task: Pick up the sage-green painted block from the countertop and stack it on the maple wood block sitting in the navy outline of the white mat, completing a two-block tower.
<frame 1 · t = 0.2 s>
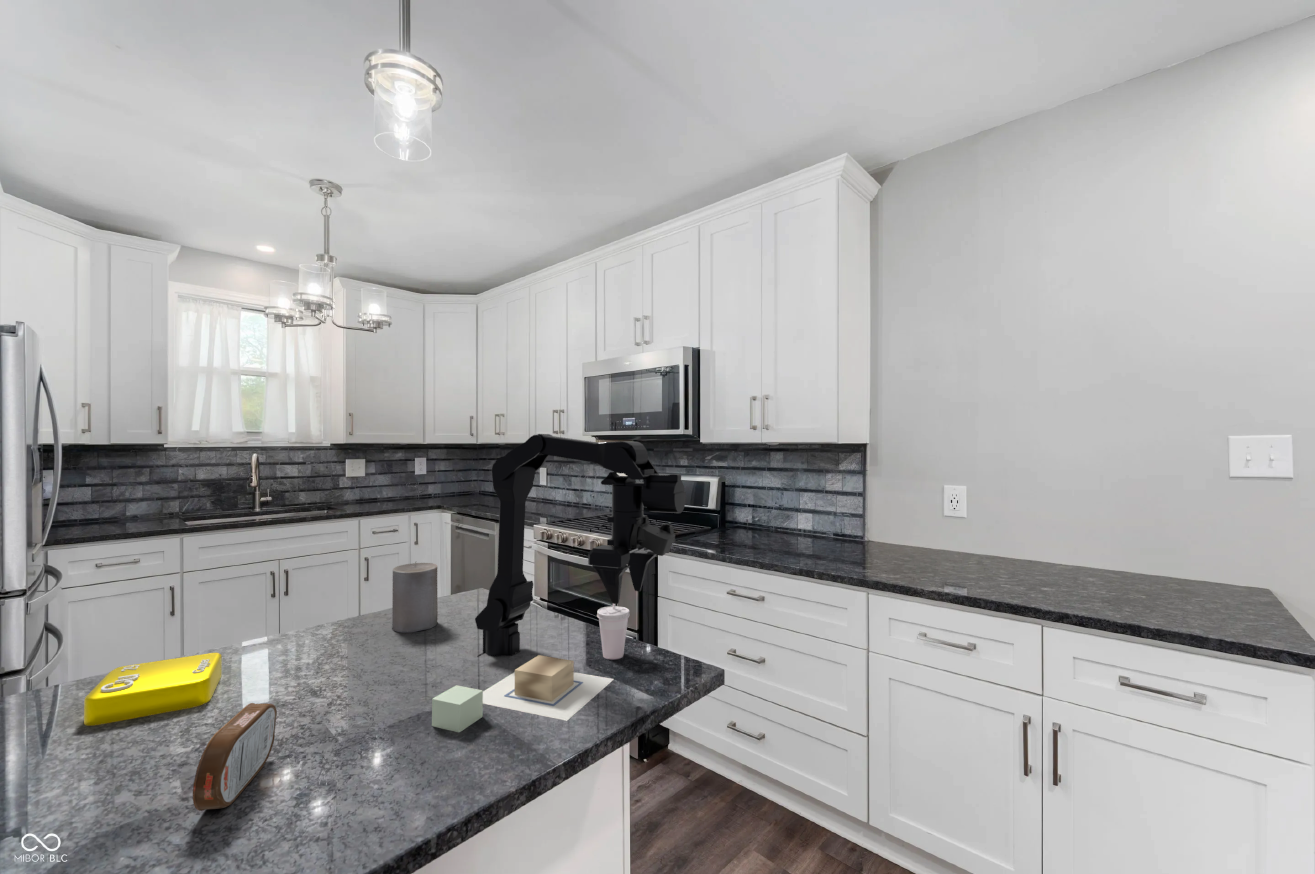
hand: (627, 596, 100), 15 cm above the countertop, fingers open, 9 cm apart
maple block: (544, 689, 93), point 1 cm above the countertop, touching white mat
element tile: (159, 700, 92), on the countertop
white mat: (544, 695, 93), on the countertop
pillar candle: (414, 626, 129), on the countertop
smoothie: (613, 661, 108), on the countertop
sage block: (457, 728, 82), on the countertop
tin: (239, 787, 68), on the countertop
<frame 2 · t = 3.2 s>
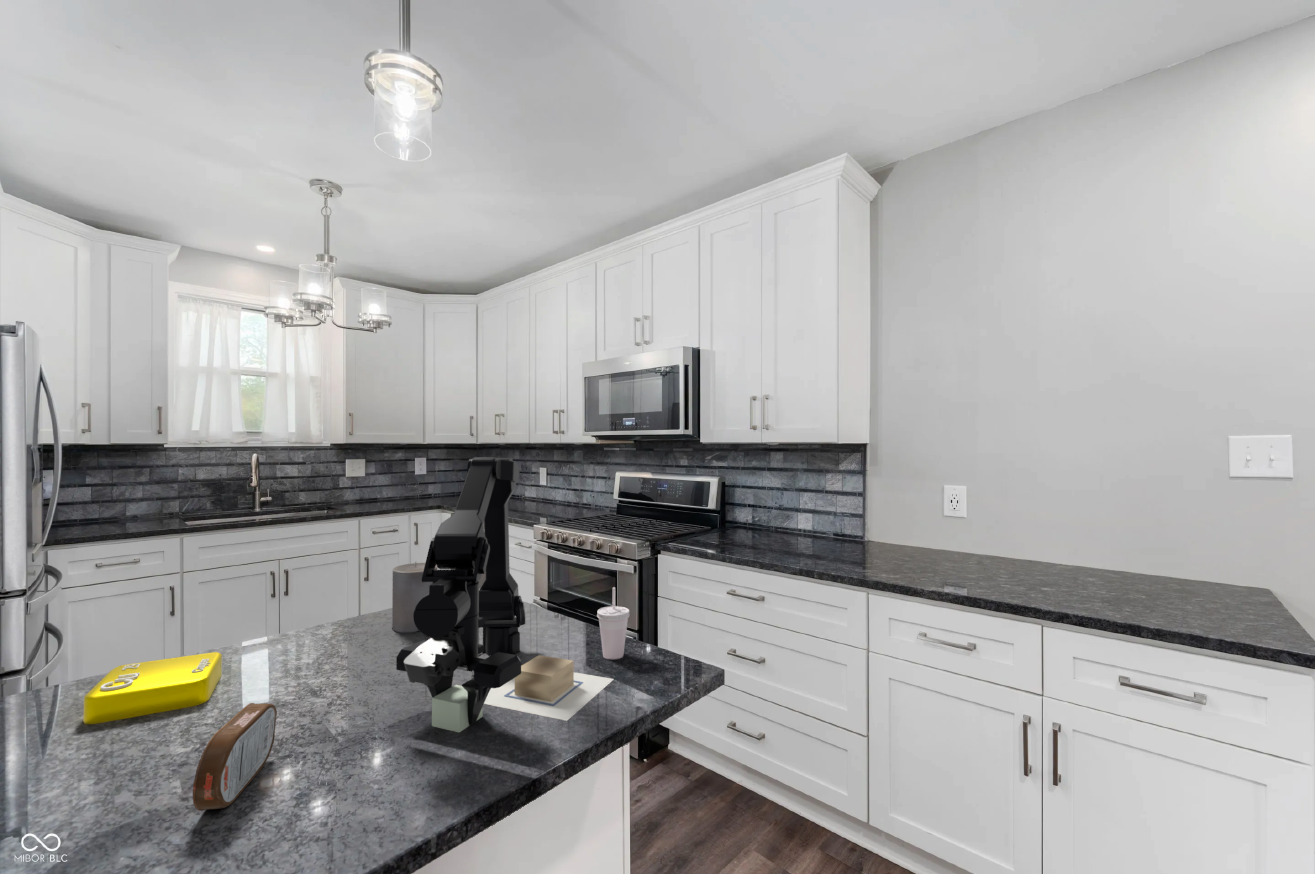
hand: (457, 720, 82), 1 cm above the countertop, fingers closed on sage block, 5 cm apart
sage block: (457, 727, 82), on the countertop, touching gripper
everything else where it was.
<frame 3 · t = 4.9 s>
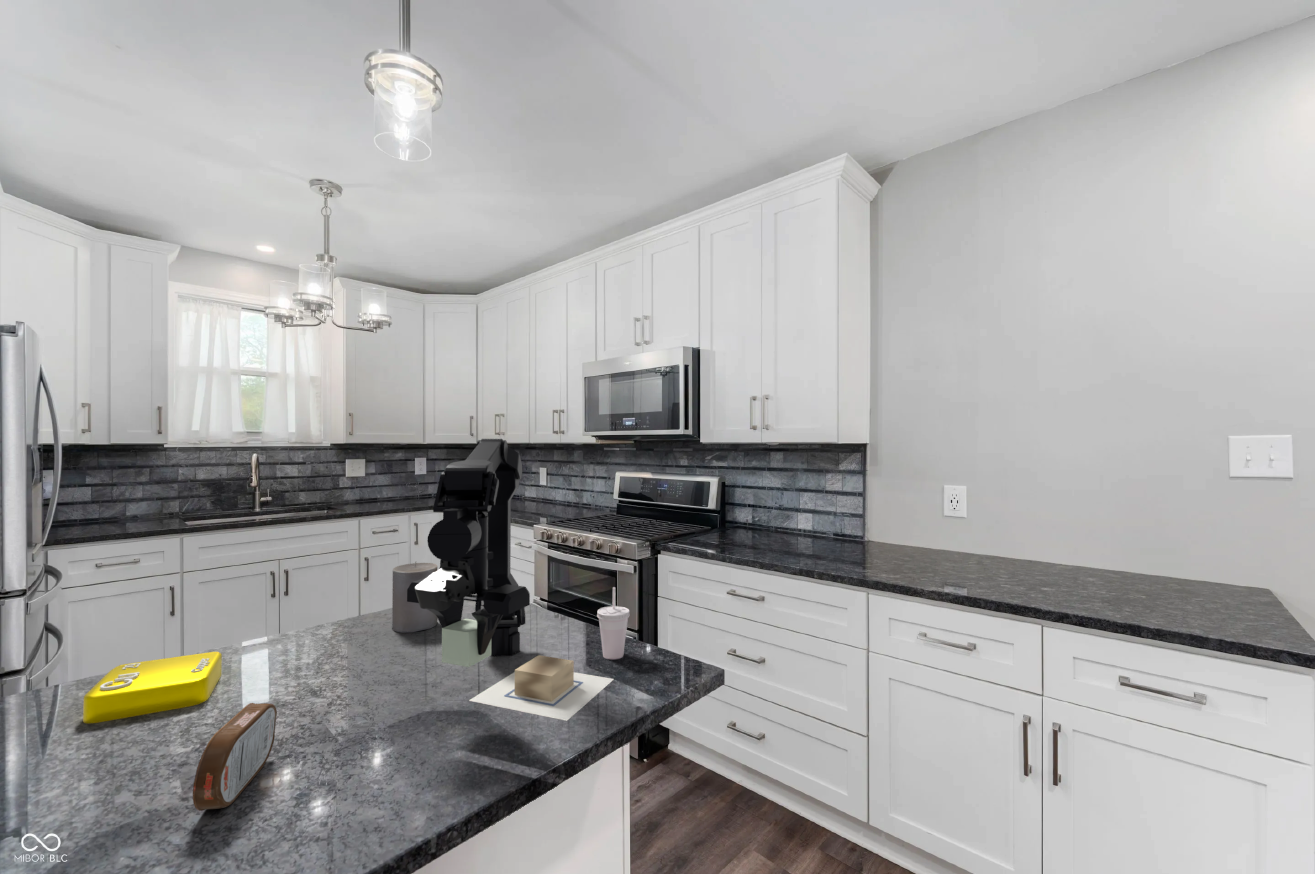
hand: (467, 651, 84), 11 cm above the countertop, fingers closed on sage block, 5 cm apart
sage block: (466, 658, 84), point 10 cm above the countertop, touching gripper
everything else where it was.
when the fingers open (7 cm above the countertop, at t = 6.9 s): sage block drops 1 cm, resting on maple block.
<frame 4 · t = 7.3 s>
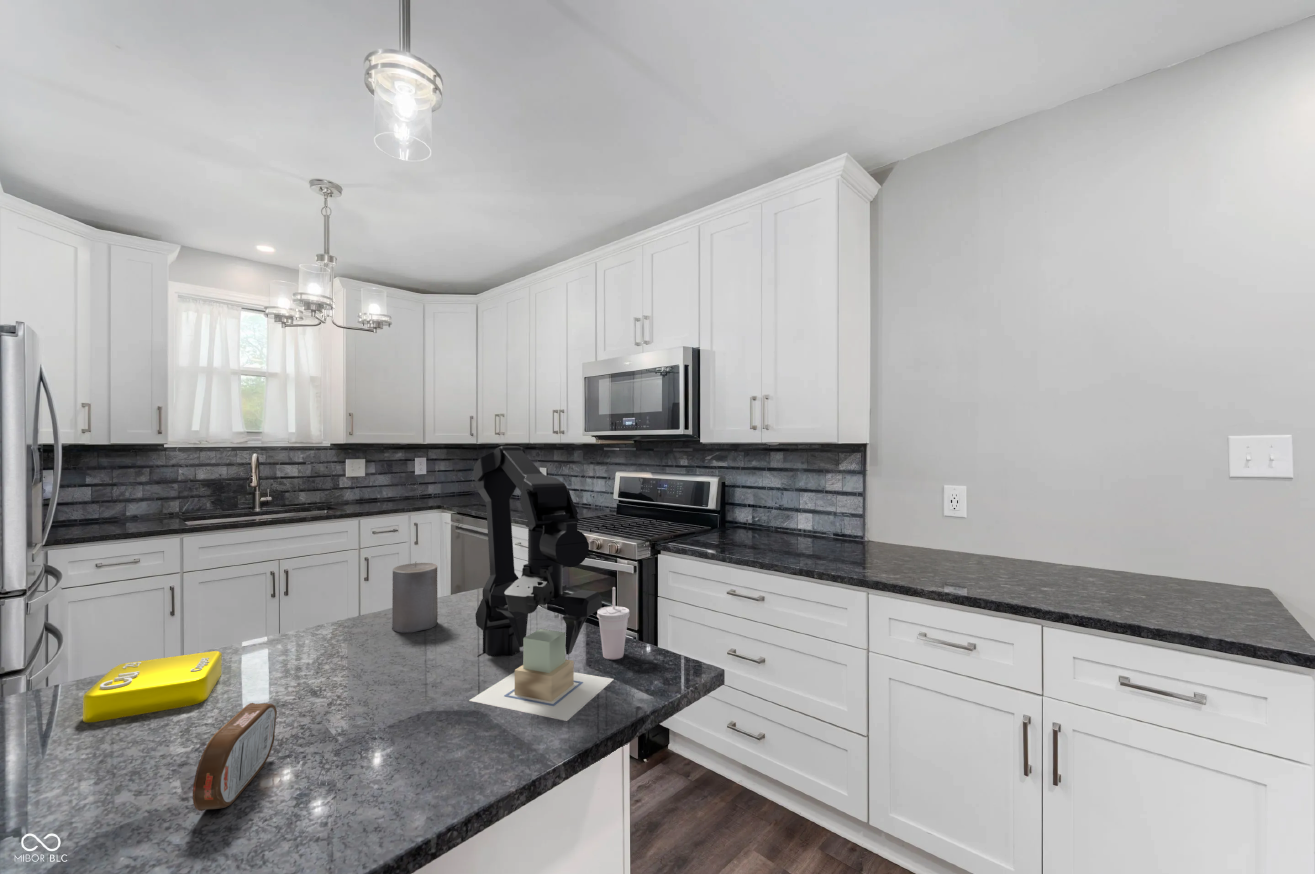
hand: (544, 650, 93), 7 cm above the countertop, fingers open, 9 cm apart
maple block: (544, 689, 93), point 1 cm above the countertop, touching white mat, sage block
sage block: (544, 665, 93), point 5 cm above the countertop, touching maple block
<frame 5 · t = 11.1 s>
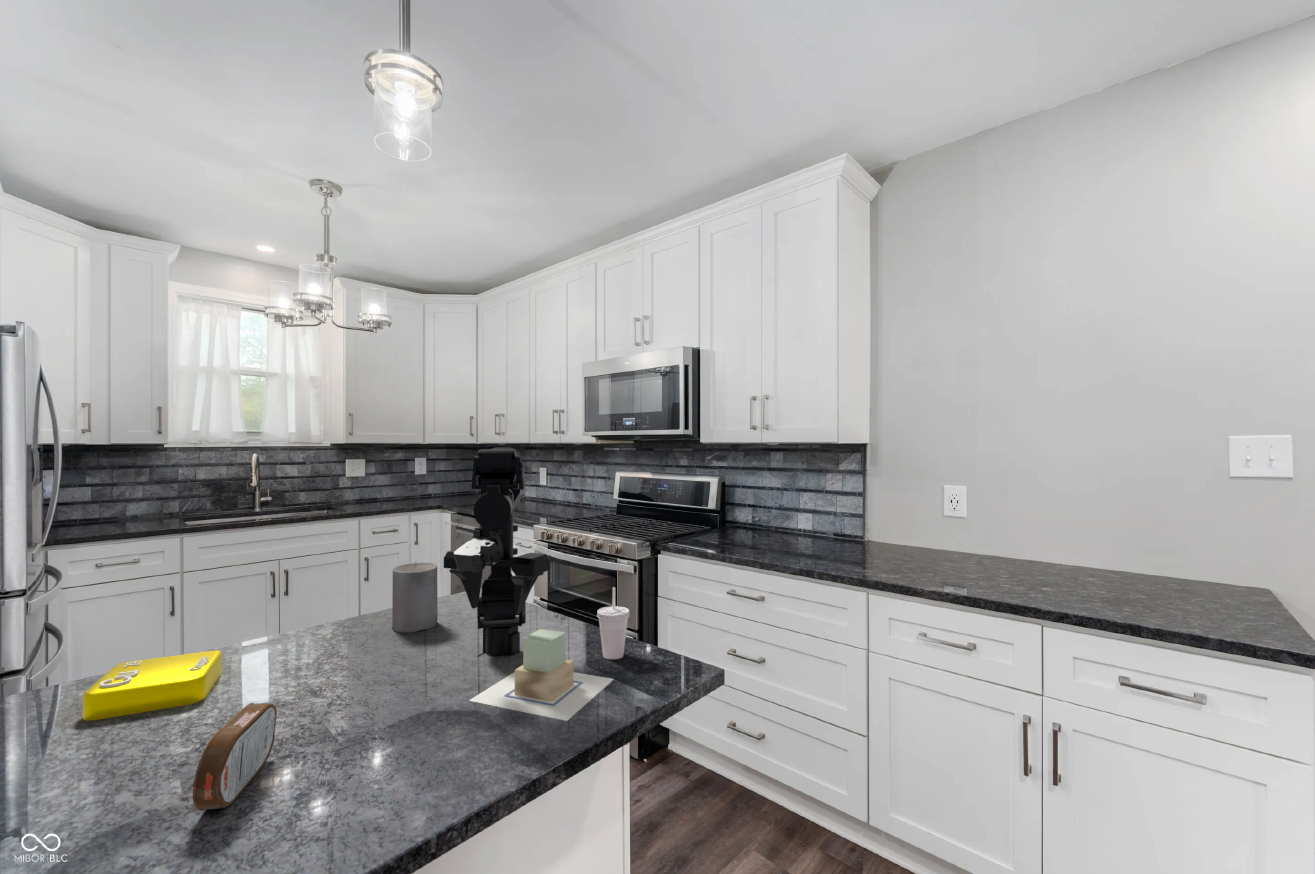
hand: (495, 610, 97), 13 cm above the countertop, fingers open, 9 cm apart
at the end: sage block 0.0 cm off-centre on the maple block, point 4.0 cm above the maple block's base; sage block tilted 0°; maple block moved 0.0 cm from its start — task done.
